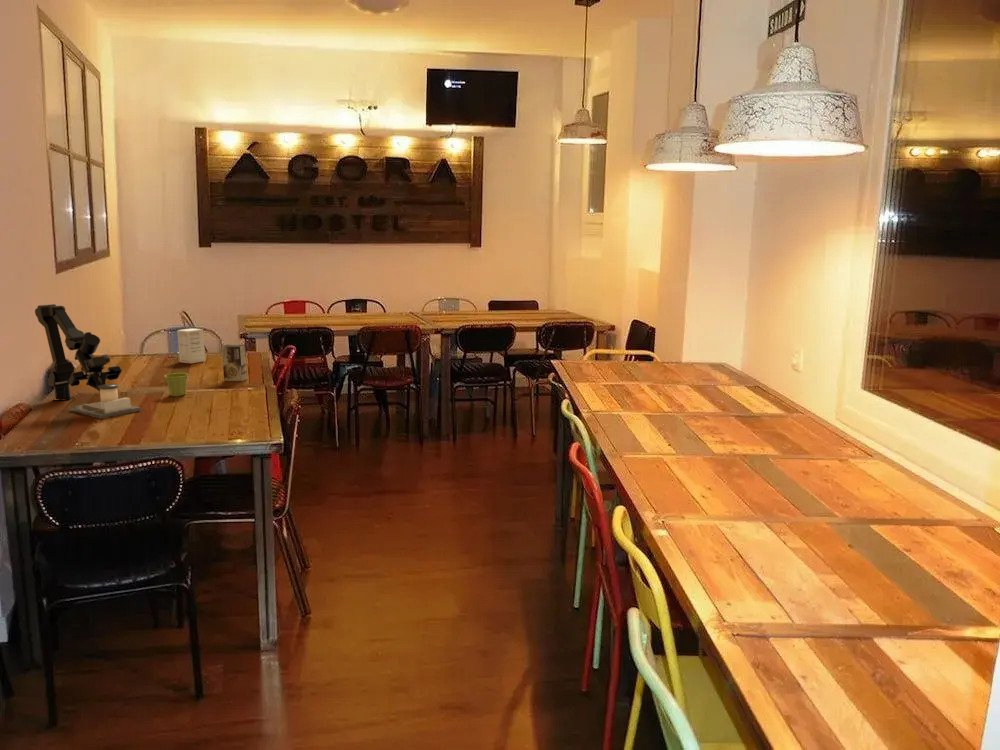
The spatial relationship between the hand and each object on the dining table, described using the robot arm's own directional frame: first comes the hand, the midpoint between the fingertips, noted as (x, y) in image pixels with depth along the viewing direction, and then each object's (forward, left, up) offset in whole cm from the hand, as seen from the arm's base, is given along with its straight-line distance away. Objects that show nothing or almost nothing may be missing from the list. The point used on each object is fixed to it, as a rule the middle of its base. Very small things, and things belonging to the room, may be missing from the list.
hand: (104, 392), depth 316 cm
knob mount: (0, 0, -7) cm, 7 cm away
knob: (+3, +2, -6) cm, 6 cm away
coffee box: (-54, +43, -8) cm, 70 cm away
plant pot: (-25, +22, -8) cm, 34 cm away
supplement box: (-109, +17, -8) cm, 110 cm away
